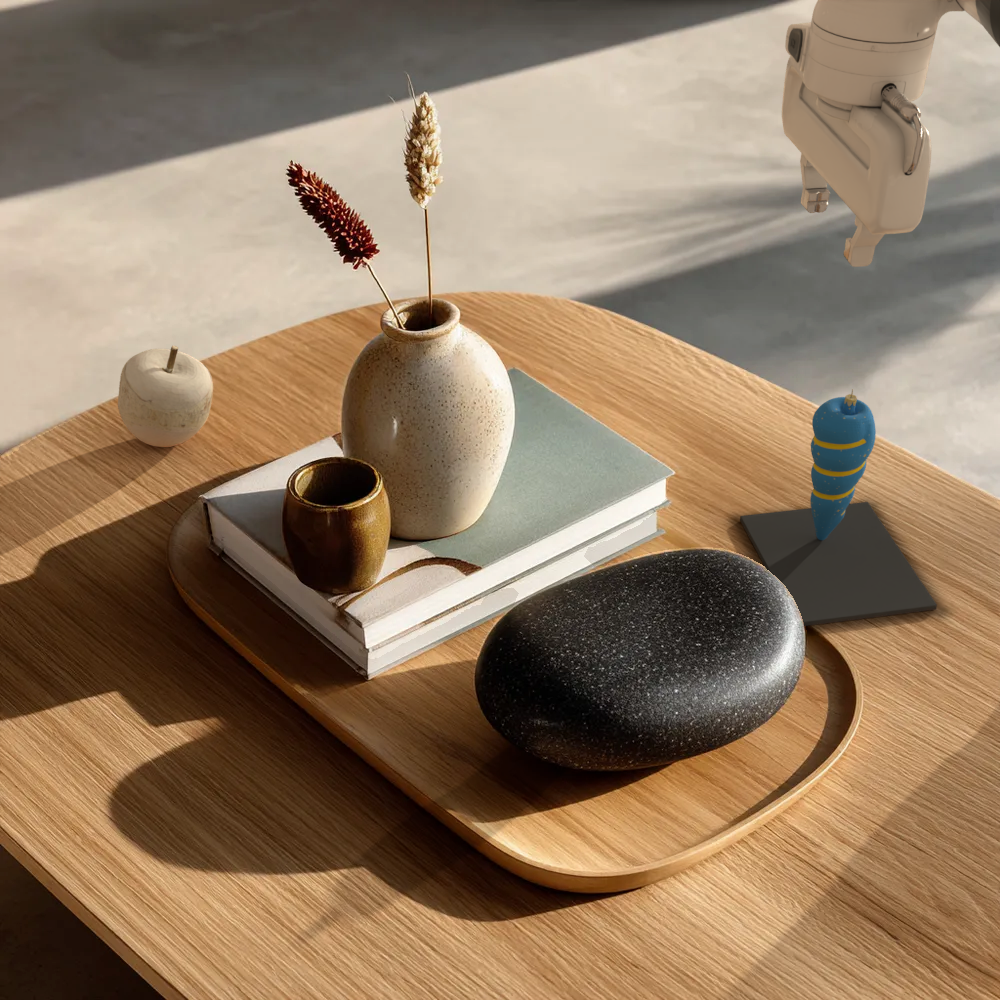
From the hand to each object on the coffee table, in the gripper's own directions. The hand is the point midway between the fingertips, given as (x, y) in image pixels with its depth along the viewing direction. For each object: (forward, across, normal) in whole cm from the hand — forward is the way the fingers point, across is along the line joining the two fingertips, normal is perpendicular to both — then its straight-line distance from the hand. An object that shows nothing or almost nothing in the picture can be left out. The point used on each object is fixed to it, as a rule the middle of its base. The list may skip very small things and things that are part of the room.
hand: (834, 234), depth 106 cm
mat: (+25, -11, 0) cm, 27 cm away
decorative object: (+25, +16, +55) cm, 63 cm away
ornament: (+25, -8, 0) cm, 26 cm away
